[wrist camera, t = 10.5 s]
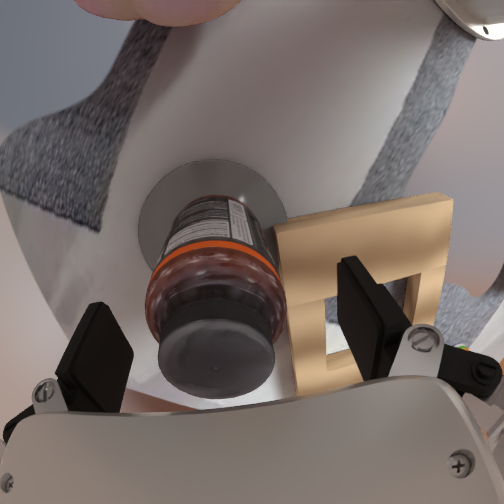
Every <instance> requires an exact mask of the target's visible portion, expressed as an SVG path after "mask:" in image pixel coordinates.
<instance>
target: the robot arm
mask: <svg viewBox="0 0 504 504" xmlns="http://www.w3.org/2000/svg"><path fill="white" fill-rule="evenodd" d="M435 1H436V3H437V4H438V5H439V6H440V7H441V8H442V9H443V11H444V12H445V13H446V14H447V15H448V16H449V17H450V18H451V19H452V20H453V21H454V22H455V23H456V24H457V25H459V26H460V27H461V28H462V29H464V30H465V31H466V32H468V33H469V34H471V35H473V36H474V37H476V38H479V39H482V40H487V41H496V40H501V39H503V38H504V0H435ZM337 317H338V322H339V325H340V327H341V329H342V332H343V334H344V336H345V338H346V341H347V343H348V345H349V348H350V350H351V352H352V355H353V357H354V359H355V362H356V364H357V366H358V369H359V371H360V373H361V376H362V378H363V381H364V382H360V383H355V384H350V385H346V386H342V387H338V388H334V389H330V390H325V391H321V392H316V393H311V394H306V395H301V396H296V397H291V398H286V399H280V400H275V401H269V402H262V403H256V404H249V405H242V406H234V407H225V408H216V409H206V410H194V411H179V412H158V413H119V412H120V408H121V403H122V400H123V395H124V392H125V388H126V384H127V380H128V376H129V372H130V369H131V365H132V361H133V357H134V353H133V349H132V348H131V346H130V344H129V342H128V341H127V339H126V337H125V335H124V334H123V332H122V330H121V328H120V327H119V325H118V323H117V321H116V319H115V317H114V315H113V314H112V312H111V310H110V308H109V306H108V305H106V304H105V303H103V302H96V303H91V304H89V306H88V307H87V309H86V311H85V313H84V315H83V317H82V319H81V321H80V322H79V324H78V326H77V328H76V330H75V332H74V334H73V336H72V338H71V340H70V342H69V344H68V346H67V348H66V350H65V352H64V354H63V356H62V359H61V361H60V363H59V365H58V367H57V369H56V372H55V374H56V375H57V377H58V379H57V381H56V380H55V379H52V378H48V379H45V380H43V381H41V382H40V383H39V384H37V386H36V387H35V388H34V390H33V393H32V402H33V404H32V405H31V406H30V407H28V408H27V409H25V410H24V411H23V412H21V413H20V414H19V415H17V416H16V417H14V418H13V419H12V420H10V421H9V422H8V423H7V424H6V426H5V428H4V431H3V439H4V441H2V440H0V504H504V375H503V374H502V369H501V366H500V365H499V363H498V362H497V361H496V360H495V359H493V358H491V357H489V356H486V355H482V354H478V353H475V352H471V351H468V350H464V349H461V348H457V347H454V346H450V345H447V344H444V337H443V334H442V333H441V332H440V331H439V329H437V328H436V327H434V326H432V325H429V324H415V325H412V324H411V322H410V321H409V319H408V318H407V317H406V315H405V314H404V312H403V311H402V309H401V308H400V307H399V305H398V304H397V302H396V301H395V300H394V298H393V297H392V295H391V294H390V293H389V291H388V290H387V288H386V287H385V286H384V285H383V284H381V283H379V284H377V283H376V282H375V280H374V279H373V277H372V276H371V275H370V273H369V272H368V271H367V269H366V268H365V266H364V265H363V264H362V262H361V261H360V260H359V258H358V257H357V256H356V255H353V256H348V257H343V258H341V262H338V263H337ZM477 422H478V423H477ZM480 428H482V429H483V430H484V431H485V432H486V434H487V436H488V443H487V440H486V438H485V436H484V434H483V432H482V431H481V429H480Z"/></svg>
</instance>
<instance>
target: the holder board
mask: <svg viewBox="0 0 504 504" xmlns="http://www.w3.org/2000/svg"><path fill="white" fill-rule="evenodd" d="M452 212H453V199H451V198H449V197H447V196H445V195H443V194H441V193H439V192H435V193H428V194H422V195H416V196H410V197H404V198H398V199H392V200H386V201H380V202H375V203H369V204H363V205H358V206H352V207H346V208H341V209H336V210H330V211H325V212H319V213H314V214H309V215H304V216H298V217H293V218H288V219H287V222H285V223H280V224H275V225H273V230H274V236H275V243H276V249H277V255H278V262H279V265H278V268H279V274H280V280H281V284H282V286H283V289H284V292H285V298H286V305H287V314H286V321H287V329H288V336H289V343H290V350H291V357H292V365H293V372H294V380H295V388H296V396H301V395H306V394H311V393H316V392H321V391H325V390H330V389H334V388H338V387H342V386H346V385H350V384H355V383H360V382H364V381H363V378H362V376H361V373H360V371H359V369H358V366H357V364H356V362H355V359H354V357H353V355H352V352H351V350H350V349H348V350H344V351H340V352H337V353H333V354H329V355H326V327H325V301H324V299H325V298H329V297H333V296H337V263H338V262H341V258H343V257H348V256H353V255H356V256H357V257H358V258H359V260H360V261H361V262H362V264H363V265H364V266H365V268H366V269H367V271H368V272H369V273H370V275H371V276H372V277H373V279H374V280H375V282H376V283H377V284H379V283H381V284H383V283H387V282H390V281H394V280H397V279H401V278H404V277H408V278H407V286H406V293H405V301H404V307H403V312H404V314H405V315H406V317H407V318H408V319H409V321H410V322H411V324H412V325H415V324H429V325H432V326H433V324H434V320H435V316H436V312H437V308H438V303H439V299H440V294H441V289H442V284H443V279H444V274H445V267H446V262H447V255H448V248H449V240H450V231H451V223H452Z"/></svg>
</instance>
